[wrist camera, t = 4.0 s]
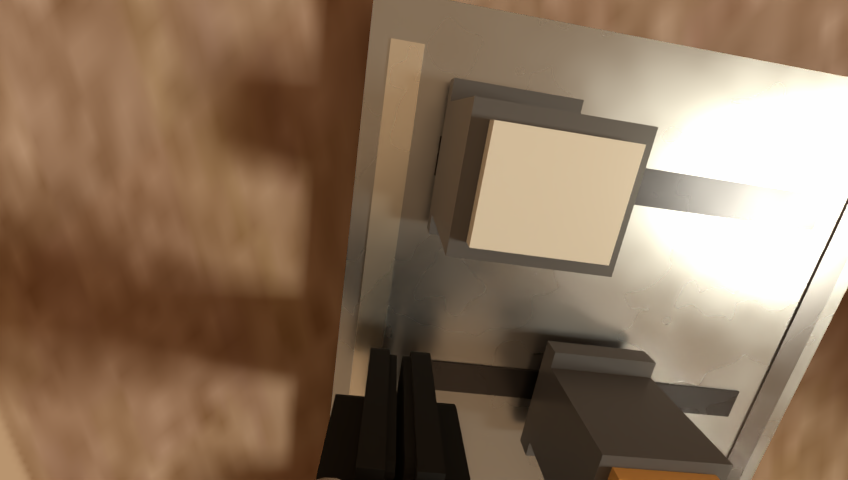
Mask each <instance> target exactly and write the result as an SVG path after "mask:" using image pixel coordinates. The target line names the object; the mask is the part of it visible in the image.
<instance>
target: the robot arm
mask: <svg viewBox="0 0 848 480" xmlns="http://www.w3.org/2000/svg"><path fill="white" fill-rule="evenodd" d="M316 480H470V474H469V469H468V464H467V459H466V454H465V449H464V444H463V438H462V433H461V428H460V423H459V418H458V413H457V408H456V405H455V404H448V403H437V401H436V393H435V385H434V377H433V370H432V362H431V355H430V353H426V352H416V351H411V352H410V356H403V357H402V362H401V368H400V375H399V381H398V388H397V355H392V354H390V349H385V348H375V347H371V349H370V357H369V365H368V372H367V380H366V388H365V396H355V395H343V394H336V395H335V398H334V403H333V407H332V411H331V416H330V420H329V424H328V429H327V433H326V438H325V442H324V446H323V451H322V455H321V460H320V464H319V468H318V473H317V477H316Z"/></svg>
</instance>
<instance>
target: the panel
mask: <svg viewBox="0 0 848 480" xmlns="http://www.w3.org/2000/svg"><path fill="white" fill-rule="evenodd" d="M453 78H460V79H466V80H472V81H477V82H483V83H489V84H495V85H500V86H506V87H512V88H518V89H524V90H529V91H535V92H541V93H547V94H552V95H558V96H564V97H570V98H576V99H581V100H584V102H583V106H582V110H581V114H585V115H591V116H596V117H602V118H608V119H614V120H620V121H626V122H632V123H638V124H644V125H650V126H656V127H658V130H657V133H656V137H655V140H654V143H653V146H652V149H651V153H650V156H649V159H648V162H647V165H646V169H645V172H644V175H643V178H642V181H641V185H640V188H639V191H638V194H637V197H636V201H635V204H634V207H633V210H632V213H631V217H630V220H629V223H628V226H627V229H626V232H625V236H624V239H623V242H622V245H621V248H620V252H619V255H618V258H617V261H616V264H615V268H614V271H613V274H612V277H606V276H598V275H590V274H582V273H574V272H566V271H558V270H550V269H542V268H535V267H527V266H519V265H511V264H503V263H495V262H487V261H479V260H471V259H463V258H455V257H447V256H446V255H445V252H444V249H443V246H442V243H441V240H440V237H439V235H434V234H429V233H428V229H427V225H428V218H429V212H430V206H431V200H432V194H433V188H434V181H435V175H436V169H437V163H438V157H439V151H440V144H441V138H442V132H443V126H444V120H445V114H446V107H447V101H448V95H449V89H450V83H451V79H453ZM847 287H848V77H844V76H839V75H834V74H828V73H823V72H818V71H813V70H808V69H802V68H797V67H792V66H787V65H782V64H776V63H771V62H766V61H761V60H756V59H751V58H745V57H740V56H735V55H730V54H725V53H719V52H714V51H709V50H704V49H699V48H693V47H688V46H683V45H678V44H673V43H668V42H662V41H657V40H652V39H647V38H642V37H636V36H631V35H626V34H621V33H616V32H610V31H605V30H600V29H595V28H590V27H585V26H579V25H574V24H569V23H564V22H559V21H553V20H548V19H543V18H538V17H533V16H528V15H522V14H517V13H512V12H507V11H502V10H496V9H491V8H486V7H481V6H476V5H470V4H465V3H460V2H455V1H450V0H373V8H372V18H371V27H370V37H369V46H368V56H367V66H366V75H365V85H364V95H363V104H362V114H361V123H360V133H359V143H358V152H357V162H356V172H355V181H354V191H353V201H352V210H351V220H350V229H349V239H348V249H347V258H346V268H345V278H344V287H343V297H342V307H341V316H340V326H339V335H338V345H337V355H336V364H335V374H334V384H333V393H332V403H331V411H332V407H333V403H334V398H335V395H336V394H343V395H355V396H365V388H366V380H367V372H368V365H369V357H370V349H371V347H375V348H385V349H390V354H392V355H397V388H398V381H399V375H400V368H401V362H402V357H403V356H410V352H411V351H416V352H426V353H430V355H431V362H432V370H433V377H434V385H435V393H436V401H437V403H448V404H455V405H456V408H457V413H458V418H459V423H460V428H461V433H462V438H463V444H464V449H465V454H466V459H467V464H468V469H469V474H470V480H544V477H543V475H542V472H541V470H540V467H539V465H538V462H537V460H536V457H535V456H526V455H525V452H524V449H523V447H522V444H521V441H520V439H521V435H522V431H523V428H524V424H525V420H526V417H527V413H528V410H529V406H530V402H531V399H532V395H533V392H534V388H535V384H536V381H537V377H538V374H539V370H540V366H541V363H542V359H543V355H544V352H545V348H546V345H547V341H555V342H565V343H574V344H583V345H593V346H602V347H611V348H621V349H630V350H639V351H644V352H645V353H646V354H647V355H649V356H650V357H651V358H652V359H653V360H654V361H655V362H656V365H655V367H654V370H653V373H652V375H651V379H652V380H653V381H654V382H655V383H656V384H657V385H658V386H659V387H660V388H661V389H662V390H663V391H664V392H665V394H666V395H667V396H668V397H669V398H670V399H671V400H672V401H673V402H674V403H675V404H676V405H677V406H678V407H679V408H680V409H681V410H682V411H683V412H684V414H685V415H686V416H687V417H688V418H689V419H690V420H691V421H692V422H693V423H694V424H695V425H696V426H697V427H698V428H699V429H700V430H701V431H702V432H703V433H704V435H705V436H706V437H707V438H708V439H709V440H710V441H711V442H712V443H713V444H714V445H715V446H716V447H717V448H718V449H719V450H720V451H721V452H722V453H723V455H724V456H725V457H726V458H727V459H728V460H729V461H730V462H731V463H732V464H733V467H732V469H731V471H730V473H729V475H728V477H727V480H751V479H752V477H753V475H754V473H755V471H756V469H757V467H758V465H759V463H760V461H761V459H762V457H763V455H764V453H765V451H766V449H767V447H768V445H769V443H770V441H771V439H772V437H773V435H774V433H775V431H776V429H777V427H778V425H779V423H780V421H781V419H782V417H783V415H784V413H785V411H786V409H787V407H788V405H789V403H790V401H791V399H792V397H793V395H794V393H795V391H796V389H797V387H798V385H799V383H800V381H801V379H802V377H803V375H804V373H805V371H806V369H807V367H808V365H809V363H810V361H811V359H812V357H813V355H814V353H815V351H816V349H817V347H818V345H819V343H820V341H821V339H822V337H823V335H824V333H825V331H826V329H827V327H828V325H829V323H830V321H831V319H832V317H833V315H834V313H835V311H836V309H837V307H838V305H839V303H840V301H841V299H842V297H843V295H844V293H845V291H846V289H847ZM330 416H331V412H330Z"/></svg>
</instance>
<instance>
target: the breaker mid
mask: <svg viewBox="0 0 848 480" xmlns="http://www.w3.org/2000/svg"><path fill="white" fill-rule="evenodd" d="M655 365H656V362H655V361H654V360H653V359H652V358H651V357H650V356H649V355H647V354H646V353H645V352H644V351H639V350H630V349H621V348H611V347H602V346H593V345H583V344H574V343H565V342H555V341H547V345H546V348H545V352H544V355H543V359H542V363H541V366H540V370H539V374H538V377H537V381H536V384H535V388H534V392H533V395H532V399H531V402H530V406H529V410H528V413H527V417H526V420H525V424H524V428H523V431H522V435H521V439H520V441H521V444H522V447H523V449H524V452H525V455H526V456H535V457H536V460H537V462H538V465H539V467H540V470H541V472H542V475H543V477H544V480H727V477H728V475H729V473H730V471H731V469H732V467H733V464H732V463H731V462H730V461H729V460H728V459H727V458H726V457H725V456H724V455H723V453H722V452H721V451H720V450H719V449H718V448H717V447H716V446H715V445H714V444H713V443H712V442H711V441H710V440H709V439H708V438H707V437H706V436H705V435H704V433H703V432H702V431H701V430H700V429H699V428H698V427H697V426H696V425H695V424H694V423H693V422H692V421H691V420H690V419H689V418H688V417H687V416H686V415H685V414H684V412H683V411H682V410H681V409H680V408H679V407H678V406H677V405H676V404H675V403H674V402H673V401H672V400H671V399H670V398H669V397H668V396H667V395H666V394H665V392H664V391H663V390H662V389H661V388H660V387H659V386H658V385H657V384H656V383H655V382H654V381H653V380H652V379H651V375H652V373H653V370H654V367H655Z"/></svg>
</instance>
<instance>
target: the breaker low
mask: <svg viewBox="0 0 848 480" xmlns="http://www.w3.org/2000/svg"><path fill="white" fill-rule="evenodd" d="M583 102H584V100H581V99H576V98H570V97H564V96H558V95H552V94H547V93H541V92H535V91H529V90H524V89H518V88H512V87H506V86H500V85H495V84H489V83H483V82H477V81H472V80H466V79H460V78H453V79H451V83H450V89H449V95H448V101H447V107H446V114H445V120H444V126H443V132H442V138H441V144H440V151H439V157H438V163H437V169H436V175H435V181H434V188H433V194H432V200H431V206H430V212H429V218H428V225H427V229H428V233H429V234H434V235H439V237H440V240H441V243H442V246H443V249H444V252H445V255H446V256H447V257H455V258H463V259H471V260H479V261H487V262H495V263H503V264H511V265H519V266H527V267H535V268H542V269H550V270H558V271H566V272H574V273H582V274H590V275H598V276H606V277H612V274H613V271H614V268H615V264H616V261H617V258H618V255H619V252H620V248H621V245H622V242H623V239H624V236H625V232H626V229H627V226H628V223H629V220H630V217H631V213H632V210H633V207H634V204H635V201H636V197H637V194H638V191H639V188H640V185H641V181H642V178H643V175H644V172H645V169H646V165H647V162H648V159H649V156H650V153H651V149H652V146H653V143H654V140H655V137H656V133H657V130H658V127H656V126H650V125H644V124H638V123H632V122H626V121H620V120H614V119H608V118H602V117H596V116H591V115H585V114H581V110H582V106H583Z"/></svg>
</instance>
